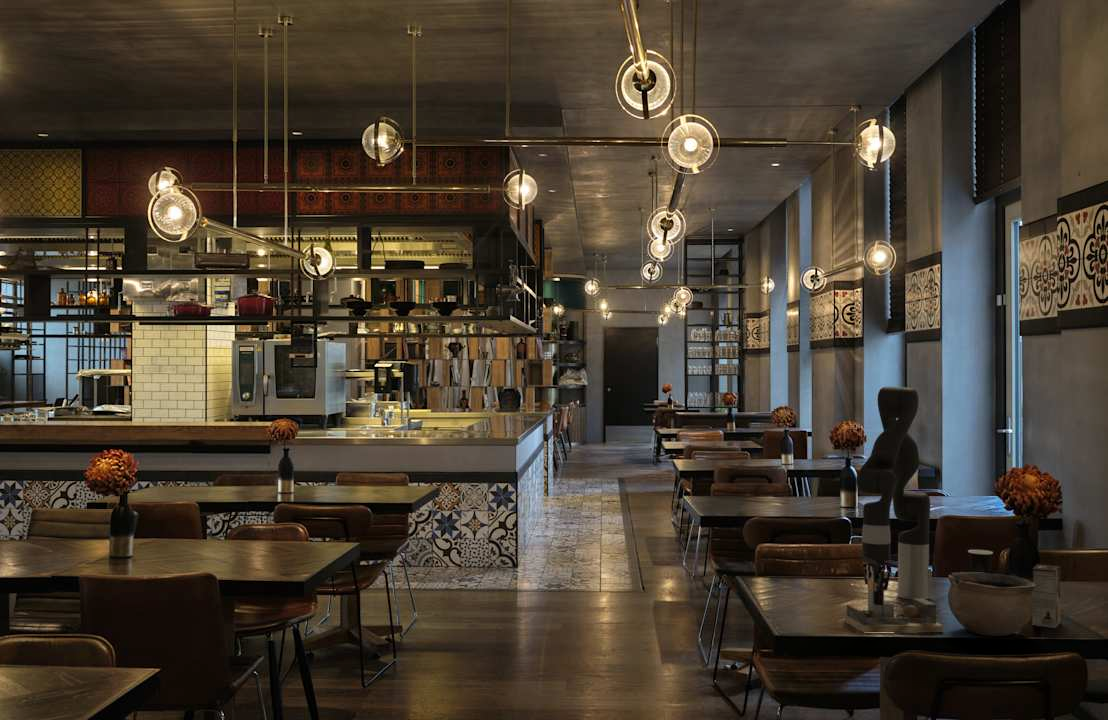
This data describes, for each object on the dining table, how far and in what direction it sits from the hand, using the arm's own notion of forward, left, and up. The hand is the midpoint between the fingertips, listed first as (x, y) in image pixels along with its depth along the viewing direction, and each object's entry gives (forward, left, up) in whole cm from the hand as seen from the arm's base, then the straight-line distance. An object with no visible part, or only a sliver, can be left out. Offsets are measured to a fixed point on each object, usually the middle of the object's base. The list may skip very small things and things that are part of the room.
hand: (875, 603), depth 285 cm
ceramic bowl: (-29, +8, -7) cm, 31 cm away
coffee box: (-51, -2, -7) cm, 52 cm away
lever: (-1, 0, -4) cm, 5 cm away
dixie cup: (-63, -60, -7) cm, 87 cm away
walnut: (-10, 0, -5) cm, 11 cm away
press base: (-5, 0, -7) cm, 8 cm away
